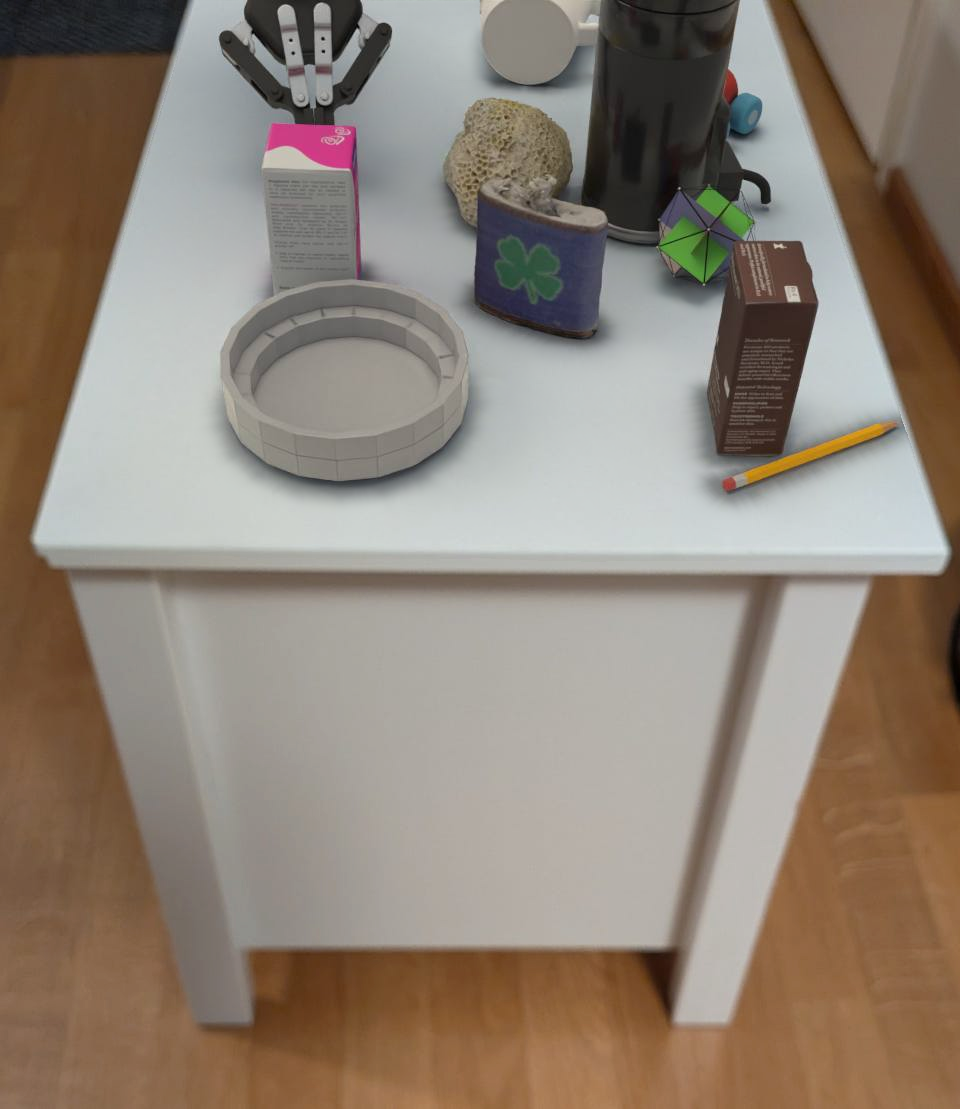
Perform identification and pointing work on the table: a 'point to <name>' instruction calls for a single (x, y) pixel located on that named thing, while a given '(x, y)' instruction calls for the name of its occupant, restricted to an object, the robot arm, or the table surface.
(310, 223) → the supplement box
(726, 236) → the geometric puzzle
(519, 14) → the mug
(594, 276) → the flask
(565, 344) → the table surface
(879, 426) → the pencil
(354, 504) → the table surface
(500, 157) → the decorative item
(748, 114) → the toy car
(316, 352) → the bowl
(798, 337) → the box
